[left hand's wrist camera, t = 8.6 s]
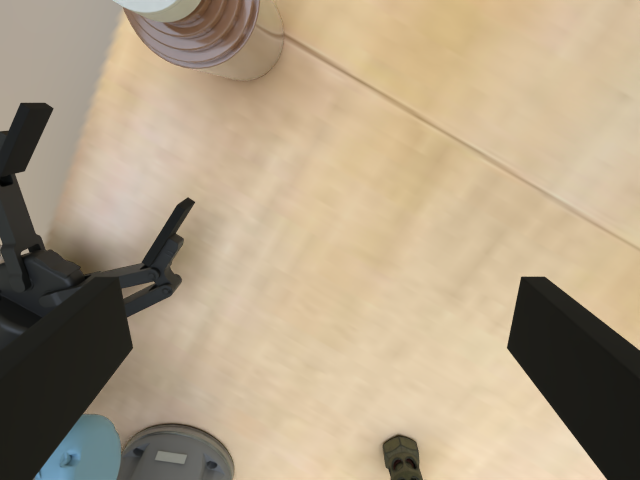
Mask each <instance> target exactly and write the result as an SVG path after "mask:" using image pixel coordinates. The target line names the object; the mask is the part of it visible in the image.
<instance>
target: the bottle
mask: <svg viewBox="0 0 640 480" xmlns="http://www.w3.org/2000/svg"><path fill="white" fill-rule="evenodd" d="M123 9H124V12H125V14H126V16H127V18H128V20H129V22H130V23H131V25H132V27H133V29H134V30H135V32H136V33H137V35H138V36H139V37H140V39H141V40H142V41H143V42H144V44H145V45H146V46H147V47H148V48H149V49H150V50H152V51H153V52H154V53H155V54H157V55H158V56H159V57H161V58H163V59H164V60H166V61H168V62H170V63H172V64H175V65H178V66H181V67H184V68H188V69H192V70H196V71H200V72H204V73H208V74H212V75H217V76H221V77H225V78H229V79H233V80H238V81H249V80H254V79H257V78H259V77H261V76H263V75H264V74H266V73H267V72H268V71H270V70H271V68H272V67H273V66H274V65H275V63H276V62H277V60H278V58H279V56H280V54H281V51H282V47H283V42H284V29H283V23H282V19H281V16H280V13H279V11H278V9H277V7H276V5H275V3H274V1H273V0H201V1H200V3H199V5H198V6H197V7H196V8H195V10H194V11H192V12H191V13H190V14H189V15H187V16H186V17H184V18H182V19H180V20H177V21H174V22H157V21H153V20H150V19H147V18H145V17H143V16H141V15H139V14H137V13H135V12H133V11H130V10H128V9H126V8H124V7H123Z"/></svg>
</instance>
